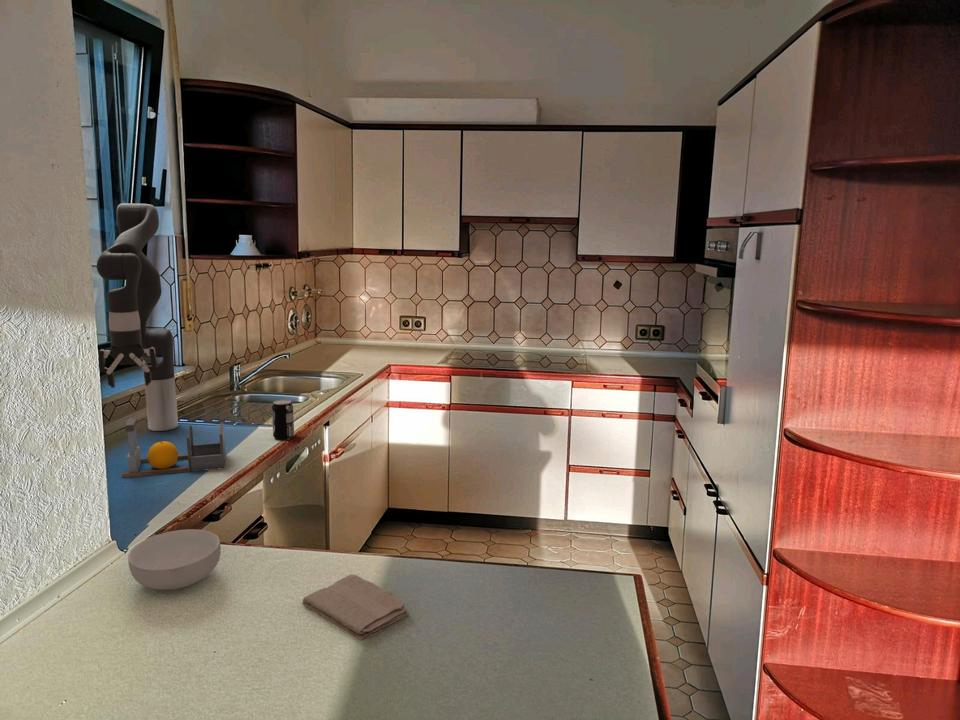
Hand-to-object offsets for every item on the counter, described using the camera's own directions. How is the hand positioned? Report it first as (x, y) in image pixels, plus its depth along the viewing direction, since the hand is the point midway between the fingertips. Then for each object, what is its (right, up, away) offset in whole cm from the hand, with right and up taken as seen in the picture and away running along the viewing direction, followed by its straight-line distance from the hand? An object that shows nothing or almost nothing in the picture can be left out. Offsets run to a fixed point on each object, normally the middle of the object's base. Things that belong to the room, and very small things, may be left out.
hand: (130, 385), depth 197 cm
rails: (+5, -23, +7) cm, 25 cm away
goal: (+17, -23, +11) cm, 30 cm away
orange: (+6, -24, +7) cm, 25 cm away
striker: (-1, -23, +5) cm, 24 cm away
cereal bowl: (+36, -37, -55) cm, 76 cm away
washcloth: (+73, -40, -65) cm, 106 cm away
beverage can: (+33, -18, +35) cm, 51 cm away
